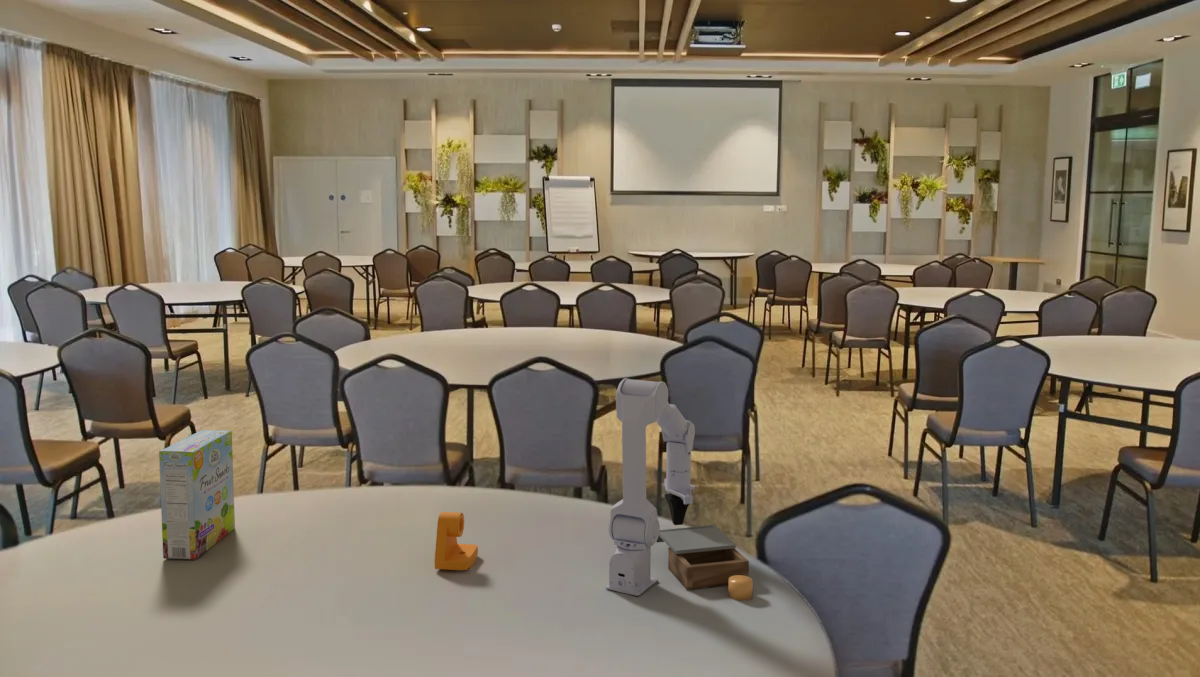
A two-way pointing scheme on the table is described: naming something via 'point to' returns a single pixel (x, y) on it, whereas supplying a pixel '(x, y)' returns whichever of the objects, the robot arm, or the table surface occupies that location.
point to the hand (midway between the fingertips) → (677, 524)
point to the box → (707, 567)
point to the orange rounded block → (740, 587)
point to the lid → (695, 539)
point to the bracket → (453, 544)
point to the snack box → (196, 493)
